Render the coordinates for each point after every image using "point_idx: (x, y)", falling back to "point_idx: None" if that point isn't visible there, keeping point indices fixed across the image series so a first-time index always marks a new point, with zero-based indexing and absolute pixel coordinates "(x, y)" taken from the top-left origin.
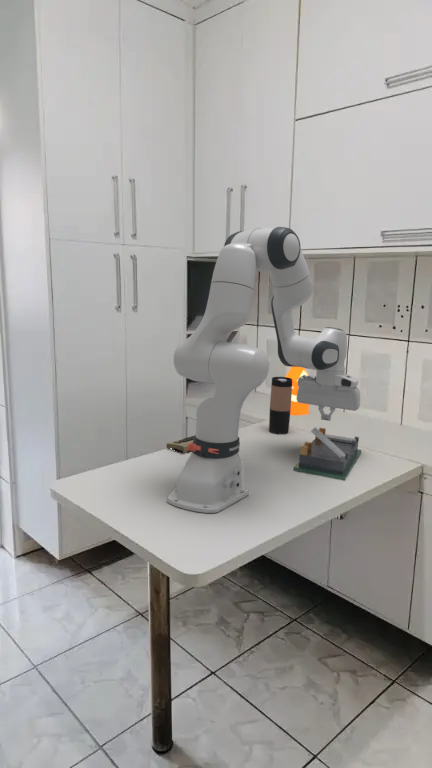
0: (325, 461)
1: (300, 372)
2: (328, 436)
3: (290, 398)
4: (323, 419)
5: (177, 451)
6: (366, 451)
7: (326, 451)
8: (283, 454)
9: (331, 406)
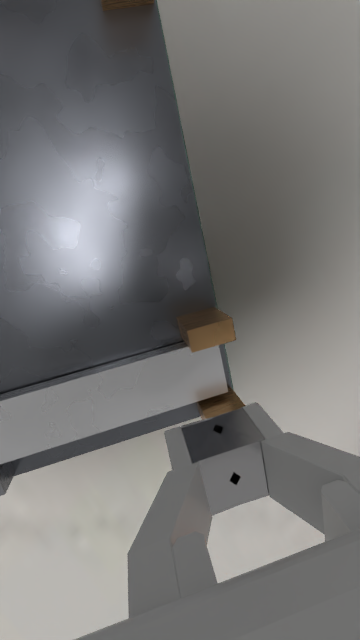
0: None
1: None
2: (154, 374)
3: None
4: (230, 411)
5: None
6: (13, 495)
7: (3, 74)
8: (293, 143)
9: (175, 620)
